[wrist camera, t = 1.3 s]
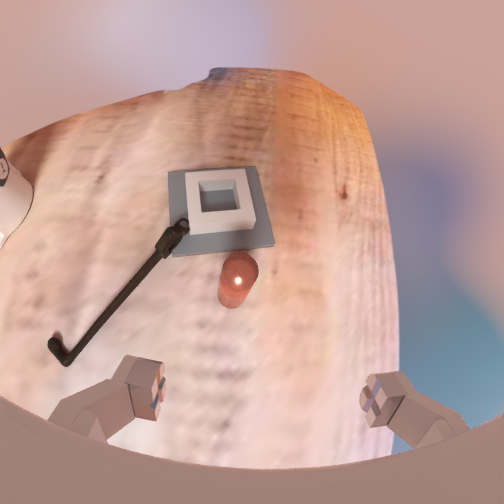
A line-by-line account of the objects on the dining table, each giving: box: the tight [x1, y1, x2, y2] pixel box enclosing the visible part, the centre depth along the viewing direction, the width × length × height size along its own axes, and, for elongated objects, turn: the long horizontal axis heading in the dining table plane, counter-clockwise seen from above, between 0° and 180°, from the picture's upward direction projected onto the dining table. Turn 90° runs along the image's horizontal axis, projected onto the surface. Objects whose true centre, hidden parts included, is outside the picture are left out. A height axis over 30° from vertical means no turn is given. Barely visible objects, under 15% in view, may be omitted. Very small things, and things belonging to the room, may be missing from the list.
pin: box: [218, 253, 259, 308], centre depth 36 cm, size 4×4×11 cm
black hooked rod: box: [48, 218, 190, 367], centre depth 37 cm, size 5×5×30 cm
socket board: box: [168, 166, 275, 257], centre depth 45 cm, size 16×16×4 cm
